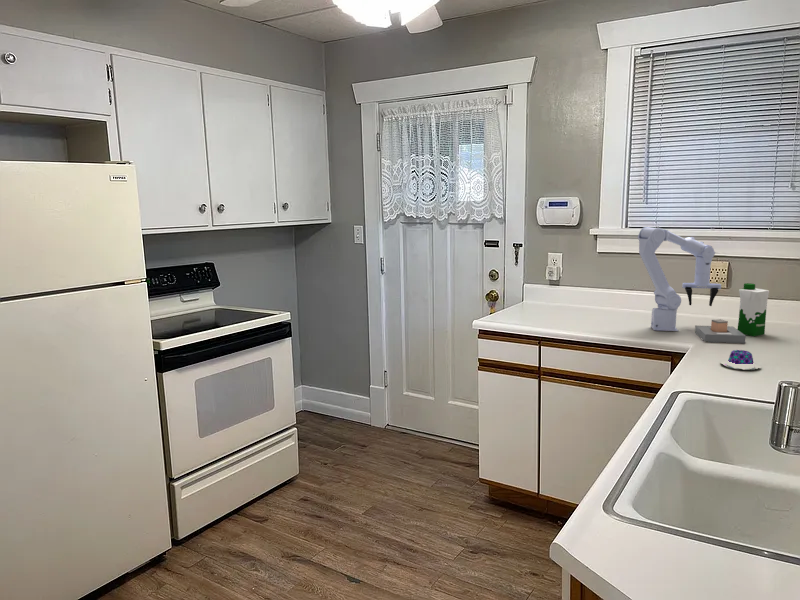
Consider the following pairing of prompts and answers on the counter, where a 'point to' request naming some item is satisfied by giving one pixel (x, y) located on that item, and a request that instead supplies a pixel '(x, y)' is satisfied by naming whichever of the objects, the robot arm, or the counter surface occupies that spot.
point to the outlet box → (720, 335)
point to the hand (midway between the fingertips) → (700, 305)
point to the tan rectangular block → (719, 325)
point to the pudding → (741, 357)
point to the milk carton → (752, 310)
